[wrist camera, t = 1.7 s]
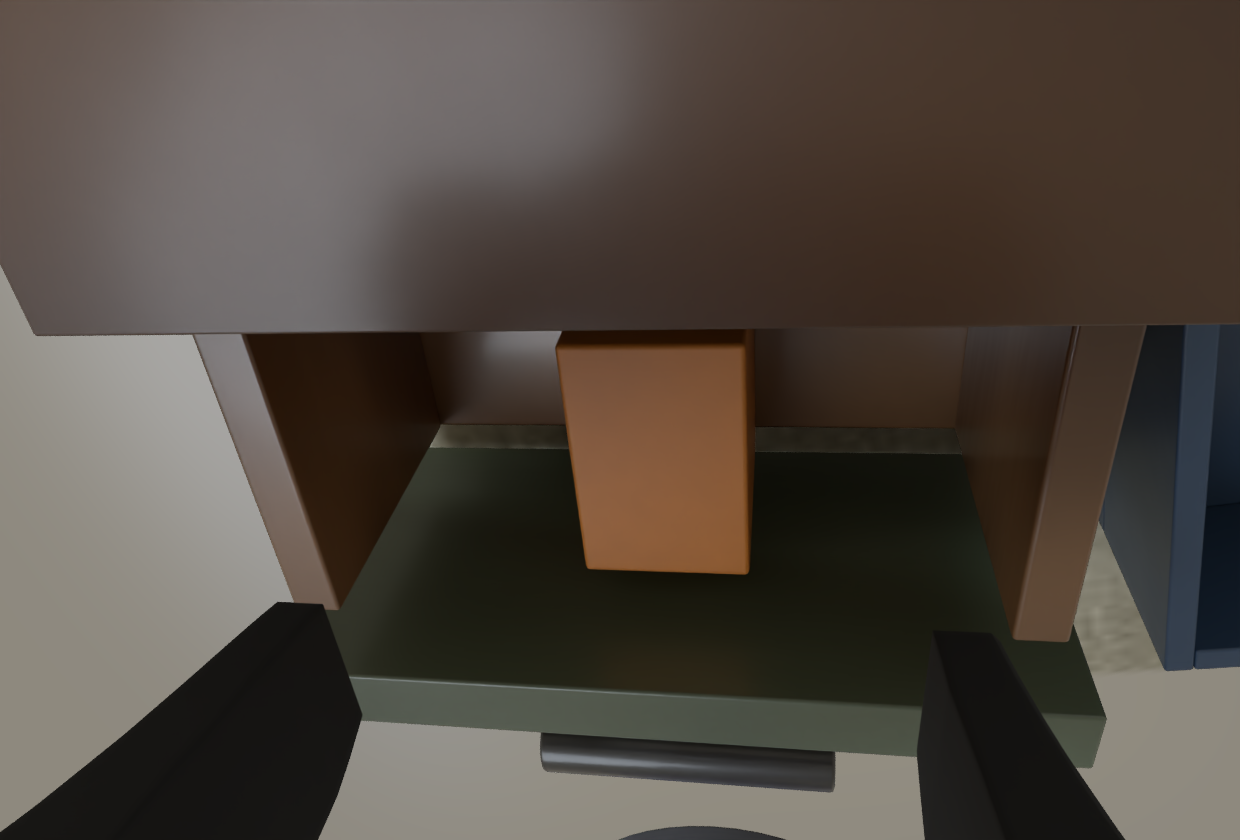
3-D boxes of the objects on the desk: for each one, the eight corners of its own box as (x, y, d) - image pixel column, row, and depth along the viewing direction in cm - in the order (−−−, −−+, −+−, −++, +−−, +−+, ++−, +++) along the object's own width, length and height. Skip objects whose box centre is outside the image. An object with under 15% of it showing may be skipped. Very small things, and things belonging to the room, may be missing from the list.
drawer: (982, 634, 22) (1050, 914, 17) (448, 610, 24) (349, 851, 19) (1128, -195, 13) (1382, -193, 8) (262, -111, 15) (-35, -61, 10)
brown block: (755, 441, 19) (749, 577, 15) (619, 439, 19) (585, 571, 16) (753, 236, 16) (746, 344, 13) (597, 239, 17) (552, 346, 14)
